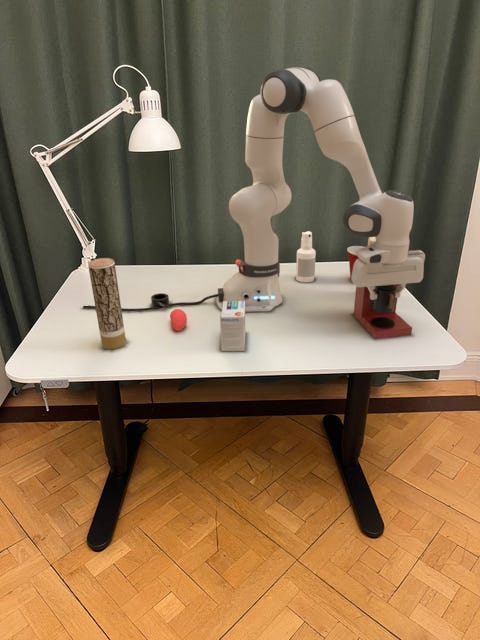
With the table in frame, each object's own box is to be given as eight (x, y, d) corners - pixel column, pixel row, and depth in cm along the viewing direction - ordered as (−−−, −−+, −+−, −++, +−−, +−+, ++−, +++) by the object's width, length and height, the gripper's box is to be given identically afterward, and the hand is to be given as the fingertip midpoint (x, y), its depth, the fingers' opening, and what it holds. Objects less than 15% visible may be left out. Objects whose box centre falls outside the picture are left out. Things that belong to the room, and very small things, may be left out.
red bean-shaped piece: (191, 323, 153) (184, 305, 152) (189, 326, 144) (180, 307, 143) (176, 330, 153) (168, 311, 152) (173, 333, 144) (164, 313, 144)
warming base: (375, 339, 139) (379, 304, 134) (360, 323, 148) (364, 290, 143) (411, 335, 140) (416, 300, 135) (394, 319, 149) (399, 286, 144)
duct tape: (174, 298, 167) (174, 291, 166) (168, 311, 158) (168, 303, 157) (152, 298, 168) (151, 290, 166) (145, 310, 159) (144, 302, 157)
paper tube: (114, 352, 135) (100, 268, 124) (97, 346, 138) (82, 264, 127) (131, 342, 140) (119, 260, 129) (114, 336, 143) (101, 256, 132)
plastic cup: (377, 286, 173) (381, 254, 168) (347, 286, 174) (350, 254, 168) (370, 275, 183) (374, 244, 178) (342, 275, 183) (344, 245, 178)
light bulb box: (223, 333, 144) (222, 300, 139) (246, 333, 143) (245, 300, 139) (221, 351, 134) (219, 316, 129) (245, 351, 134) (244, 316, 129)
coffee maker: (360, 323, 148) (365, 280, 142) (353, 314, 153) (357, 273, 147) (395, 319, 149) (401, 277, 143) (387, 311, 155) (392, 270, 149)
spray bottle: (302, 284, 177) (304, 236, 169) (292, 278, 182) (293, 231, 174) (317, 280, 180) (320, 233, 171) (307, 274, 185) (309, 228, 177)
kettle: (380, 317, 136) (384, 290, 132) (367, 304, 144) (371, 279, 140) (399, 315, 137) (403, 289, 133) (385, 302, 144) (389, 277, 141)
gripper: (420, 246, 137) (412, 290, 143) (351, 250, 134) (347, 296, 140) (432, 253, 131) (423, 299, 137) (360, 258, 128) (355, 305, 134)
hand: (384, 298), depth 139 cm, fingers closed on kettle, 5 cm apart
